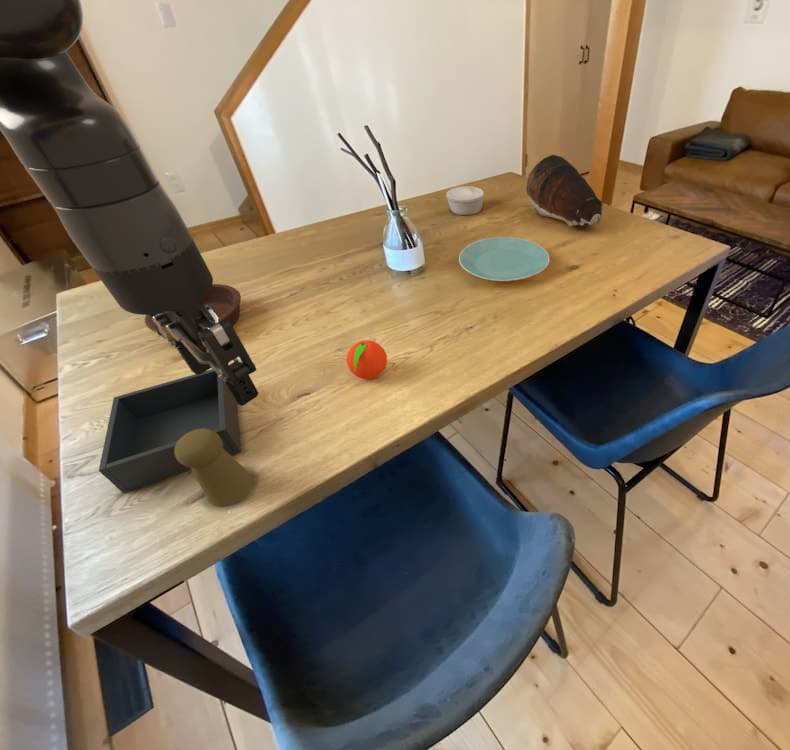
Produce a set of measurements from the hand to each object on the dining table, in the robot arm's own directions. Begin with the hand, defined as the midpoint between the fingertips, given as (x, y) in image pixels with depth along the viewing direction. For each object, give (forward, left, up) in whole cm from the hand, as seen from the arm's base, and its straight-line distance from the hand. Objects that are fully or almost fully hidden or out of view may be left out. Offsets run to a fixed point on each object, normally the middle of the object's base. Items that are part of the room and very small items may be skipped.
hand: (225, 384), depth 48 cm
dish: (-11, +51, -21) cm, 56 cm away
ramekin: (+62, +80, -21) cm, 103 cm away
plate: (+56, +43, -21) cm, 74 cm away
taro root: (+85, +58, -21) cm, 105 cm away
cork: (-8, +5, -21) cm, 23 cm away
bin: (-14, +19, -21) cm, 31 cm away
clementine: (+16, +19, -21) cm, 33 cm away
